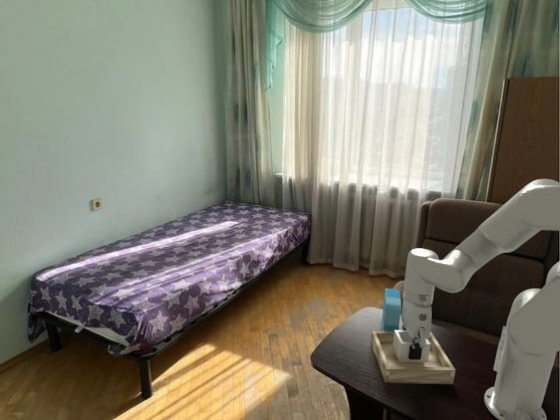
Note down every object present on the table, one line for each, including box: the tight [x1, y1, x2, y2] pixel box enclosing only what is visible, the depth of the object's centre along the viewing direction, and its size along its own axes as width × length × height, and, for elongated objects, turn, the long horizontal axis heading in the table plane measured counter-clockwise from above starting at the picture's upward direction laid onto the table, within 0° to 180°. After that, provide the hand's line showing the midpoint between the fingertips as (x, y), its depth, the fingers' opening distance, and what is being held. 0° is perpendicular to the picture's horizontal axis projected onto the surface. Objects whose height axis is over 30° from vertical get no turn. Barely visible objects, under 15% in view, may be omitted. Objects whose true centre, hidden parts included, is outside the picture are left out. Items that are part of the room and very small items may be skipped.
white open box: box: [392, 329, 431, 363], centre depth 99 cm, size 6×8×6 cm
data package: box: [381, 287, 402, 331], centre depth 115 cm, size 12×4×12 cm, turn 165°
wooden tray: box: [370, 330, 456, 385], centre depth 100 cm, size 16×18×4 cm
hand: (410, 350), depth 100 cm, fingers closed on white open box, 6 cm apart
